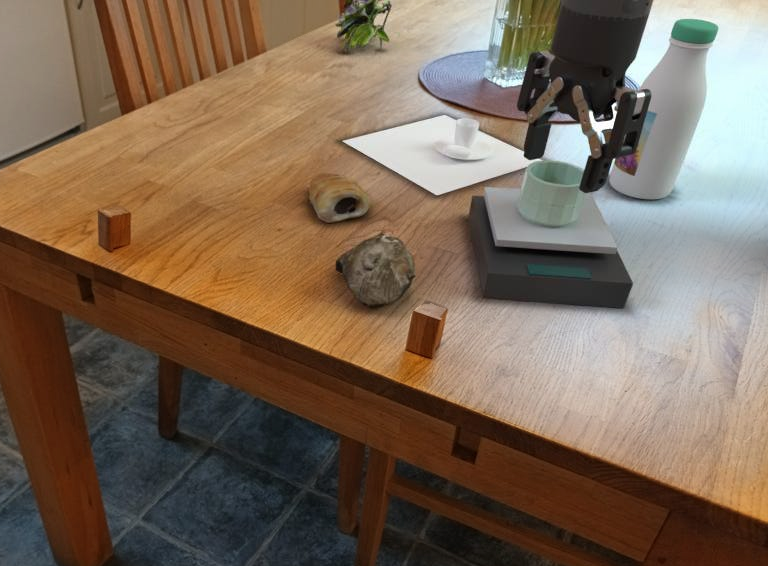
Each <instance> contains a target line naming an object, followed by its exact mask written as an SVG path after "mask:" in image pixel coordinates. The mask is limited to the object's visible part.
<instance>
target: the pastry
mask: <svg viewBox="0 0 768 566" xmlns="http://www.w3.org/2000/svg"><path fill="white" fill-rule="evenodd" d="M308 193H309V197H308V198H309V200H310V204H311V205H312V206H313V209H314V212H315V213H316V216H317V218H318V219H319V220H321V221H323V222H324V223H328V224H329V223H335V222H336V223H337V222H341V221H345V220H347V219H355V218H359V217H361V216H362V217H363V215H365V214H366V213H367V212H368V210H369V208H370V205H371V204H370V202H369V199H368V196H367V193H366V192H365V190H364V189H363V187H361V186H360V185H359V184H358V182H357V180H353V179H348V177H347V176H344V175H342V174H337V173H326V172H321V173H319V174H316V175H315V176H314V177H312V178H311V180H310V182H309V187H308Z"/></svg>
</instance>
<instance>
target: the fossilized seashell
mask: <svg viewBox="0 0 768 566" xmlns="http://www.w3.org/2000/svg"><path fill="white" fill-rule="evenodd" d="M412 254H413V253H411V252H410V251H408V250H407V247H406V246H405V244H404V242H403V240H401V239H400V238H398V237H397V236H393V235H386V234H385V233H384V232H380V233H377V234H376V235H374V236H372V237H369V238H365V239H363V240H362V241H360V242H359V243H358V244H356V245H355V246H353V247H352V248H350V249H349V250H347V251H346V252H344V253H343V254H341V255H340V256H338V258H337V259H336V261H335V271H336V272H338V273H340V274H341V275H342V277H343V280H344V282H345V285H347V288H348V289H349V291H350V292H351V293H352V295H353V297H354V299H355V300H356V301H357V302H359V303H360V304H361V305H362V304H363V305H364V306H366V307H373V308H374V307H376V308H379V307H384V306H388V305H391V304H393V303H395V302H397V301H399V300H401V299H402V298H403V297H404V295H405V294H406V293H407V292H408V289H410V287H411V285H412V283H413V280H414V278H416V277H417V276H416V272H415V265H416V264H415V259H414V256H413V255H412Z"/></svg>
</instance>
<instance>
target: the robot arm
mask: <svg viewBox="0 0 768 566" xmlns="http://www.w3.org/2000/svg"><path fill="white" fill-rule="evenodd" d="M654 1H655V0H561V3H560V7H559V11H558V16H557V20H556V24H555V28H554V31H553V37H552V41H551V45H550V50H546V49H545V50H539V51H536V52H531V53H529V57H528V60H527V64H526V67H525V72H524V76H523V80H522V84H521V87H520V92H519V95H518V98H517V102H516V109H517V110H518V111H519V112H524V114H525V115H526V121H527V123H528V126H527V130H526V133H525V134H526V135H525V139H524V142H523V151H524V157H525V158H526V159H528V160H534V159H541V158H543V157H544V155H545V153H546V150H547V149H546V148H547V145H548V140H549V137H550V133H551V128H552V125H553V124H552V123H551V122H549V121H550V120H552V119H553V118H554V117H555V116H556V115H557V114H558V113H560V114H562V115H568V116H569V117H570V118H571V119H572V120H573V121H576V122H578V123H579V124H580V129H581V133H582V134H583V135H584V136H586V137H587V141H588V146H589V151H590V155H589V154H588V156H587V160H586V163H585V165H584V166H585V167H584V169H583V170H584V173H583V176H582V180H581V183H580V186H579V190H580V191H582V192H584V193H586V194H592V193H595V192H598V191H600V189H603V187H604V186H605V185H606V184H607V180H608V177H609V175H610V172H611V171H610V170H611V169H612V165H613V161H614V160H615V158H620V157H625V156H630V155H633V154H635V152H636V150H637V146H638V143H639V139H640V136H641V132H642V129H643V125H644V121H645V118H646V114H647V111H648V107H649V104H650V100H651V96H652V95H651V91H650V90H649V89H642V90H639V89H637V90H636V89H634V88H631V87H627V86H626V74H627V70H628V69H629V68H630V66H631V65H632V64H633V62H634V61H635V60H636V58H637V55H638V53H639V48H640V47H641V42H642V39H643V36H644V33H645V29H646V25H647V23H648V20H649V17H650V14H651V10H652V7H653V3H654ZM549 84H550V86H549ZM533 92H534V93H533ZM532 93H533V96H532ZM602 115H603V121H600V122H598V121H596V120H597V119H599V118H600V117H602ZM602 135H603V137H602ZM625 135H626V137H625ZM624 138H625V141H624ZM603 139H604V143H603Z"/></svg>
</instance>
